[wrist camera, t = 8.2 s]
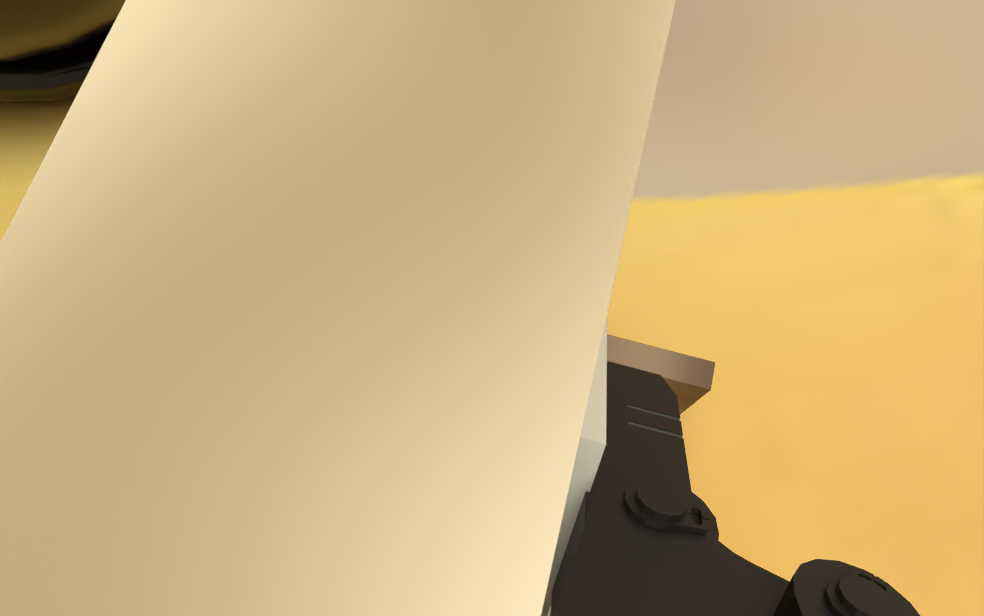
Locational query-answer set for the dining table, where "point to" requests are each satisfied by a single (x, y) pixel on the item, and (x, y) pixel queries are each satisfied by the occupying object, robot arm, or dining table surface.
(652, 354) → the walnut rack
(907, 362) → the dining table surface
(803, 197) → the dining table surface
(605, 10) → the birch board
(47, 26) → the amphora vase
